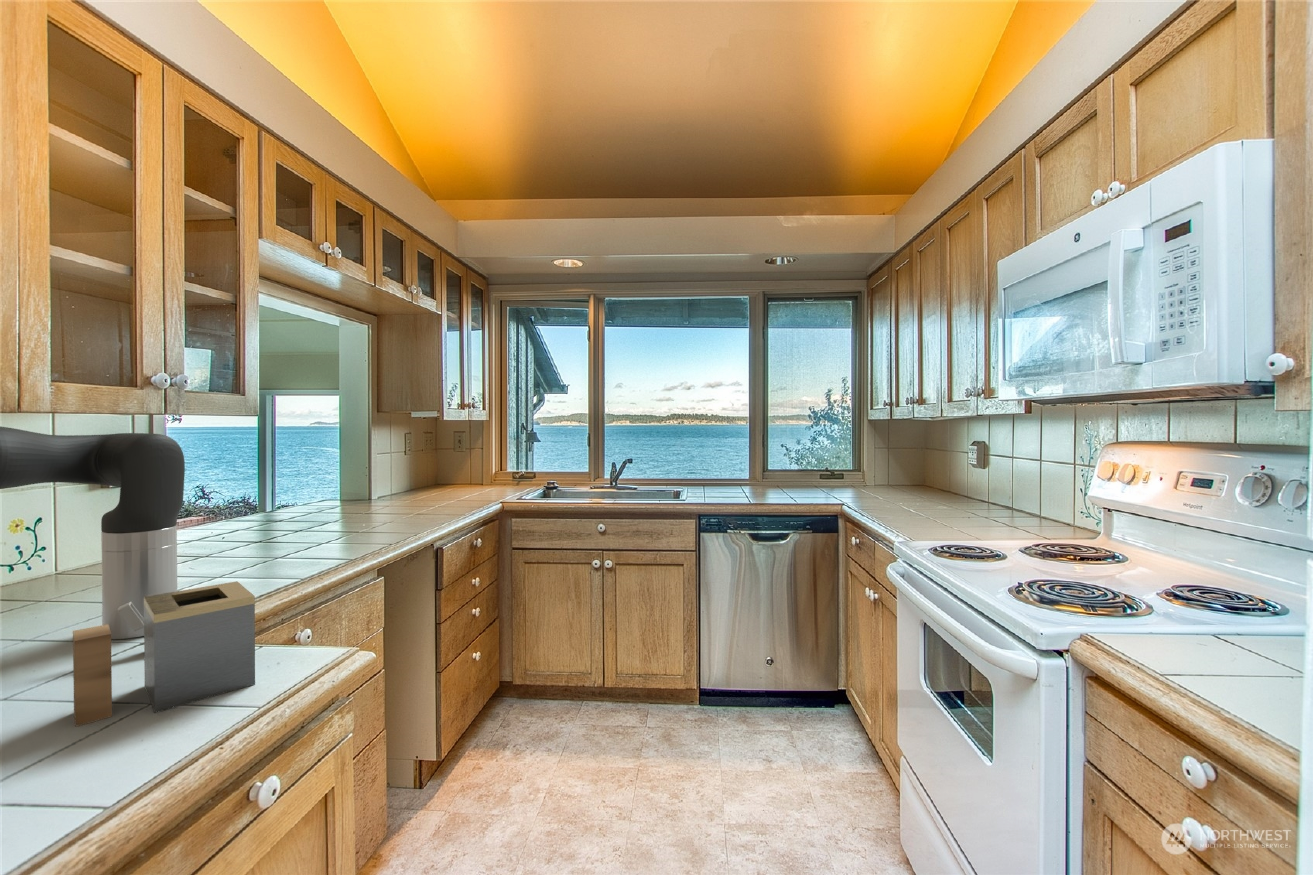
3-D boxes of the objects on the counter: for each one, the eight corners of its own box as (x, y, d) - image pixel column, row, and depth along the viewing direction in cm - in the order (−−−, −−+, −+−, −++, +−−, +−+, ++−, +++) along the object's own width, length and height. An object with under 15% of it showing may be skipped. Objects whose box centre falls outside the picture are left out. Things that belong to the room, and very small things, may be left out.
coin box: (144, 685, 72) (143, 596, 72) (237, 662, 80) (237, 581, 79) (154, 713, 66) (153, 615, 65) (255, 684, 73) (254, 596, 73)
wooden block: (73, 712, 66) (72, 630, 65) (109, 703, 68) (108, 624, 68) (75, 726, 63) (74, 641, 62) (112, 716, 65) (111, 633, 65)
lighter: (182, 644, 86) (182, 594, 86) (181, 648, 84) (181, 597, 84) (120, 655, 82) (119, 602, 81) (117, 659, 80) (117, 605, 80)
